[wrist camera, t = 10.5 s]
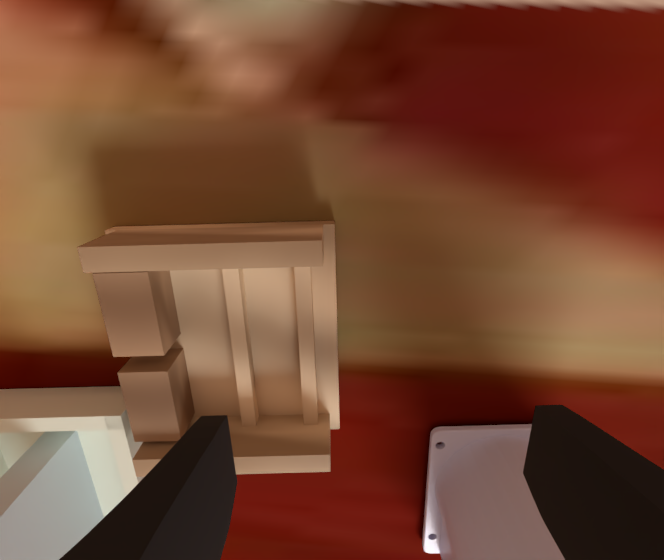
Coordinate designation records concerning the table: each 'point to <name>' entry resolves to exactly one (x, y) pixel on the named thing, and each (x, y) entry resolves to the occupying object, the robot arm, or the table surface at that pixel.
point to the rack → (247, 331)
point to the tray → (74, 415)
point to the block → (47, 500)
